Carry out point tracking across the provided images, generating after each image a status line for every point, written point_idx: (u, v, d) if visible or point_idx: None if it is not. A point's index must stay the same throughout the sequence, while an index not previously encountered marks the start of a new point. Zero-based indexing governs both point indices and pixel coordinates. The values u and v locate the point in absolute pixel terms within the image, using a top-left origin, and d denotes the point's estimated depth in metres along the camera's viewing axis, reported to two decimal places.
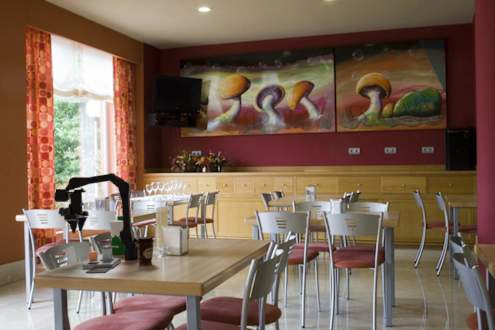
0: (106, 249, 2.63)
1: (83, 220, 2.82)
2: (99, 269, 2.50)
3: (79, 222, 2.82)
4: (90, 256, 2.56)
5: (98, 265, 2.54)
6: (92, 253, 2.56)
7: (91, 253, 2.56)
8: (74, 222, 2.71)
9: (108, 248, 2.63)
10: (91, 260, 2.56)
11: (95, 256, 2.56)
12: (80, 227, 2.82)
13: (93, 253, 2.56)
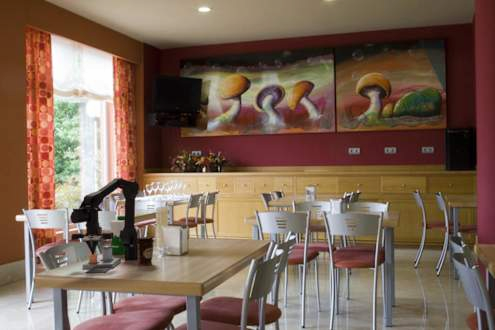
0: (106, 249, 2.63)
1: None
2: (99, 269, 2.50)
3: None
4: (90, 259, 2.56)
5: (98, 265, 2.54)
6: (92, 256, 2.56)
7: (91, 256, 2.56)
8: None
9: (108, 248, 2.63)
10: (91, 263, 2.56)
11: (95, 259, 2.56)
12: None
13: (93, 256, 2.56)
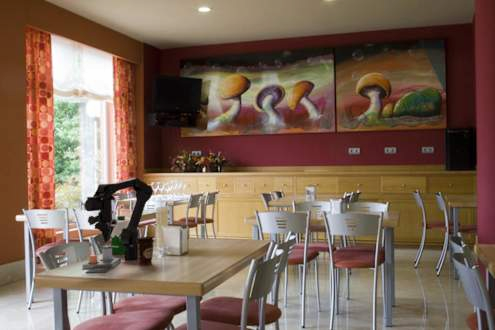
0: (106, 249, 2.63)
1: (110, 229, 2.67)
2: (99, 269, 2.50)
3: None
4: (90, 260, 2.56)
5: (98, 265, 2.54)
6: (92, 257, 2.56)
7: (91, 257, 2.56)
8: (107, 230, 2.62)
9: (108, 248, 2.63)
10: None
11: (95, 260, 2.56)
12: None
13: (93, 257, 2.56)
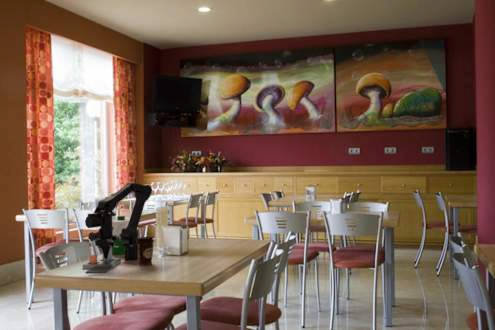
0: None
1: (111, 245, 2.68)
2: (99, 269, 2.50)
3: None
4: (90, 260, 2.56)
5: (98, 265, 2.54)
6: (92, 257, 2.56)
7: (91, 257, 2.56)
8: (107, 247, 2.61)
9: None
10: None
11: (95, 260, 2.56)
12: None
13: (93, 257, 2.56)
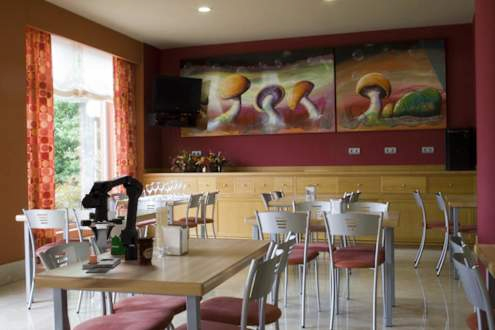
0: (97, 231, 2.56)
1: (108, 229, 2.57)
2: (99, 269, 2.50)
3: (107, 230, 2.59)
4: (90, 260, 2.56)
5: (98, 265, 2.54)
6: (92, 257, 2.56)
7: (91, 257, 2.56)
8: None
9: (98, 230, 2.55)
10: None
11: (95, 260, 2.56)
12: None
13: (93, 257, 2.56)
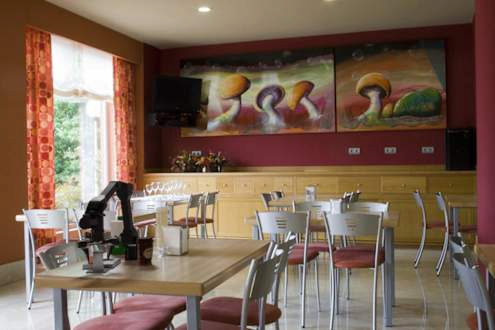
0: (93, 254, 2.47)
1: (109, 249, 2.49)
2: None
3: (107, 250, 2.51)
4: (90, 260, 2.56)
5: None
6: (92, 257, 2.56)
7: (91, 257, 2.56)
8: None
9: (94, 253, 2.46)
10: None
11: None
12: (107, 256, 2.50)
13: None
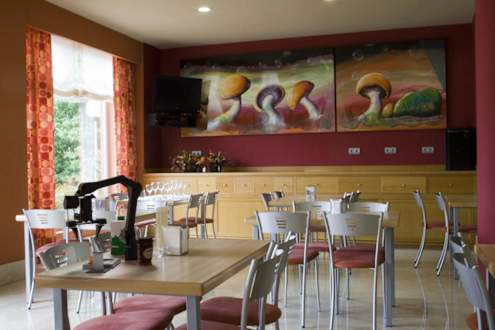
0: (93, 254, 2.47)
1: (97, 228, 2.66)
2: None
3: (96, 230, 2.68)
4: (90, 260, 2.56)
5: None
6: (92, 257, 2.56)
7: (91, 257, 2.56)
8: None
9: (94, 253, 2.47)
10: None
11: None
12: (96, 235, 2.67)
13: None
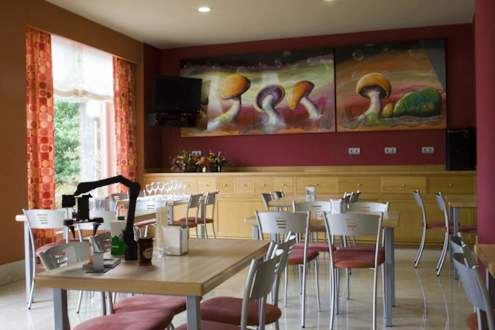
0: (93, 254, 2.47)
1: (94, 227, 2.71)
2: None
3: (93, 228, 2.73)
4: (90, 260, 2.56)
5: None
6: (92, 257, 2.56)
7: (91, 257, 2.56)
8: None
9: (94, 253, 2.47)
10: None
11: None
12: (93, 234, 2.72)
13: None
